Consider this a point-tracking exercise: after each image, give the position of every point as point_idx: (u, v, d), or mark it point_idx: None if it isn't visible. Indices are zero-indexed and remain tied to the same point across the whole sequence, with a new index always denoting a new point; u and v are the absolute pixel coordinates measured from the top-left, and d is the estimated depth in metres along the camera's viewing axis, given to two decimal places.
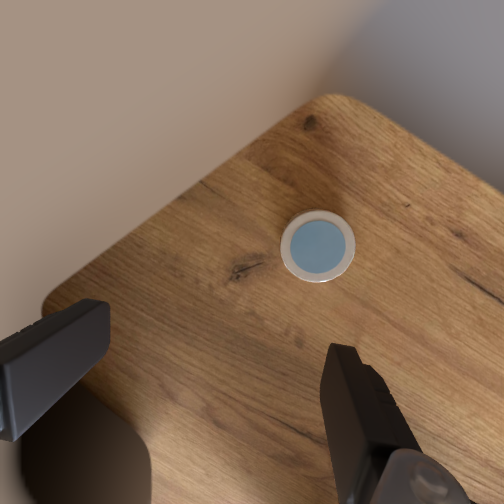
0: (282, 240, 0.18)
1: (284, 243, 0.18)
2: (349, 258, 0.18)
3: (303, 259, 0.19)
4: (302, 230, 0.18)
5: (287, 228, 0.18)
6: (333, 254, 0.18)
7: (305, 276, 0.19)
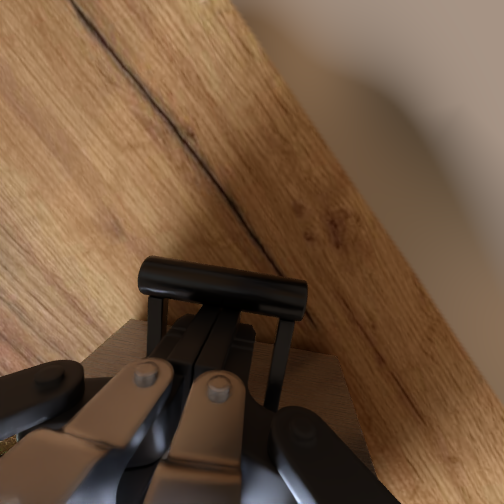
0: None
1: None
2: None
3: None
4: None
5: None
6: None
7: None
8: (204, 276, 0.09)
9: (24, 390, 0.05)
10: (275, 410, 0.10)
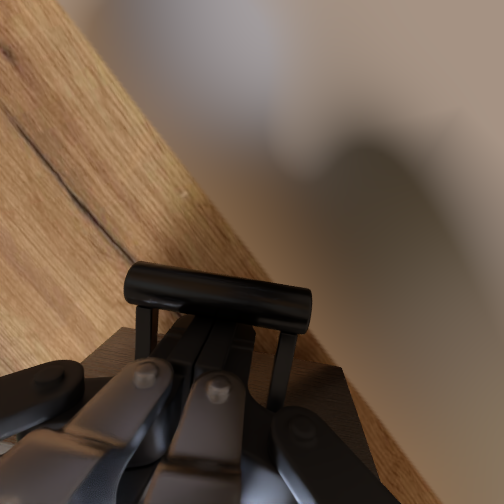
0: None
1: None
2: None
3: None
4: None
5: None
6: None
7: None
8: (197, 284, 0.08)
9: (24, 389, 0.05)
10: None
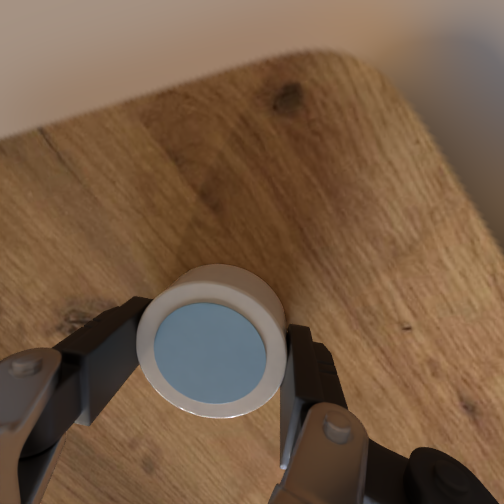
0: (144, 315, 0.09)
1: (146, 321, 0.09)
2: (263, 398, 0.09)
3: (174, 365, 0.09)
4: (189, 313, 0.08)
5: (161, 296, 0.08)
6: (234, 379, 0.09)
7: (170, 395, 0.09)
8: None
9: None
10: None
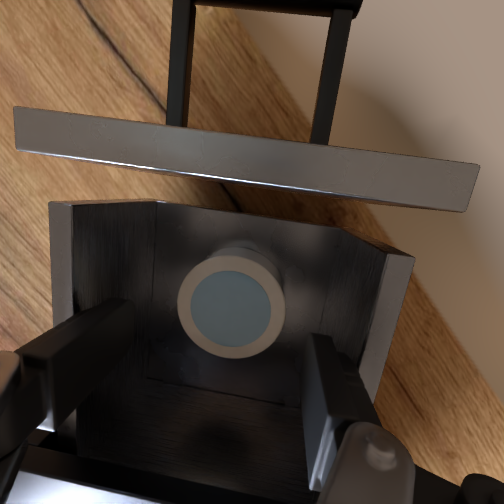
0: (184, 281, 0.12)
1: (185, 285, 0.12)
2: (268, 341, 0.12)
3: (205, 317, 0.12)
4: (217, 279, 0.12)
5: (197, 267, 0.12)
6: (248, 327, 0.12)
7: (201, 341, 0.13)
8: None
9: None
10: None
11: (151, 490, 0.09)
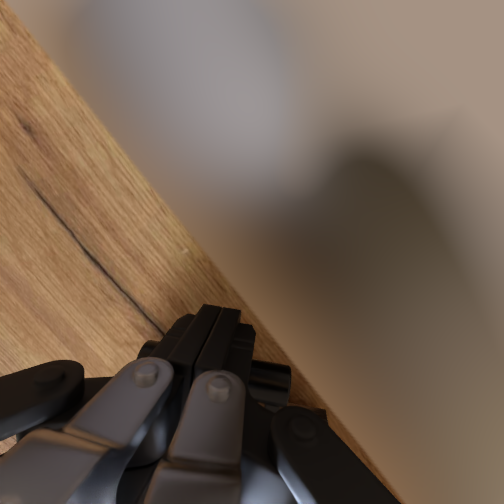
0: None
1: None
2: None
3: None
4: None
5: None
6: None
7: None
8: None
9: (24, 389, 0.05)
10: None
11: None
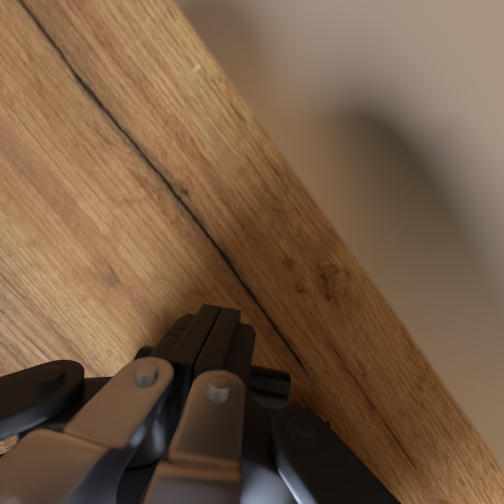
0: None
1: None
2: None
3: None
4: None
5: None
6: None
7: None
8: None
9: (23, 389, 0.05)
10: None
11: None
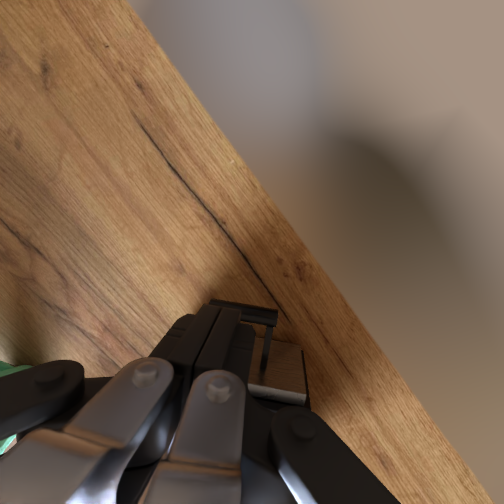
0: None
1: None
2: None
3: None
4: None
5: None
6: None
7: None
8: (235, 308, 0.22)
9: (23, 390, 0.05)
10: (265, 366, 0.23)
11: None
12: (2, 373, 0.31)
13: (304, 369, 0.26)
